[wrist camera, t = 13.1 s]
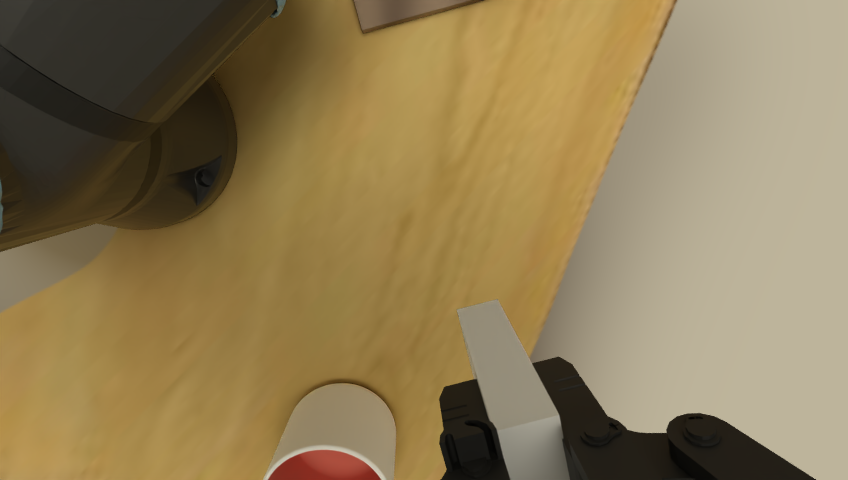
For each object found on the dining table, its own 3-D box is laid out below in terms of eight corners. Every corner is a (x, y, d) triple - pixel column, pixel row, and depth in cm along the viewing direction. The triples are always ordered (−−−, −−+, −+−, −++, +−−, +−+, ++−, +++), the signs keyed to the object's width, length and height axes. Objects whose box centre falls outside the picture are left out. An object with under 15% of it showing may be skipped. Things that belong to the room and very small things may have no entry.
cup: (275, 393, 44) (237, 467, 34) (378, 364, 44) (368, 430, 34) (312, 481, 46) (285, 574, 37) (409, 454, 46) (409, 540, 36)
